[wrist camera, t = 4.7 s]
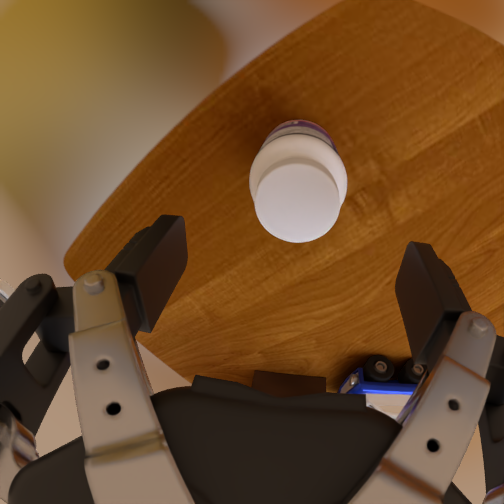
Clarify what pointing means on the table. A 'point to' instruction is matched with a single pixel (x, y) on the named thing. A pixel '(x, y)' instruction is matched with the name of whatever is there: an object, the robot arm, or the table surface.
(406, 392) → the toy car
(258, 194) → the pill bottle
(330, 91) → the table surface
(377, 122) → the table surface
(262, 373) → the tall grey box
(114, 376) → the robot arm
